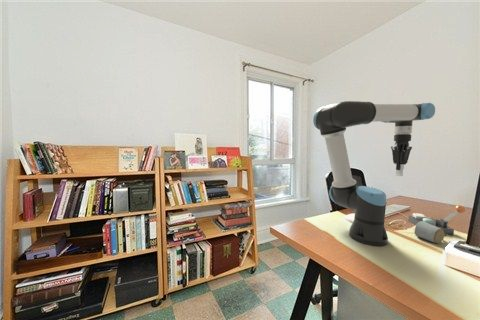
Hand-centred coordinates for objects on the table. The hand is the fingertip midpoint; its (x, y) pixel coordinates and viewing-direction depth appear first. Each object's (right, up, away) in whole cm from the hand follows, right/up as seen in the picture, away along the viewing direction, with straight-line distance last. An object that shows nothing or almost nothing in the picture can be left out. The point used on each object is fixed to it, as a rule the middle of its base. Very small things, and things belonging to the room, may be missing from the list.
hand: (399, 175), depth 113 cm
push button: (+7, -24, -10) cm, 27 cm away
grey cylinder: (-2, -29, -21) cm, 35 cm away
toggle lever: (+12, -23, -12) cm, 29 cm away
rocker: (+9, -23, -2) cm, 24 cm away
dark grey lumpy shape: (+11, -27, -7) cm, 30 cm away
